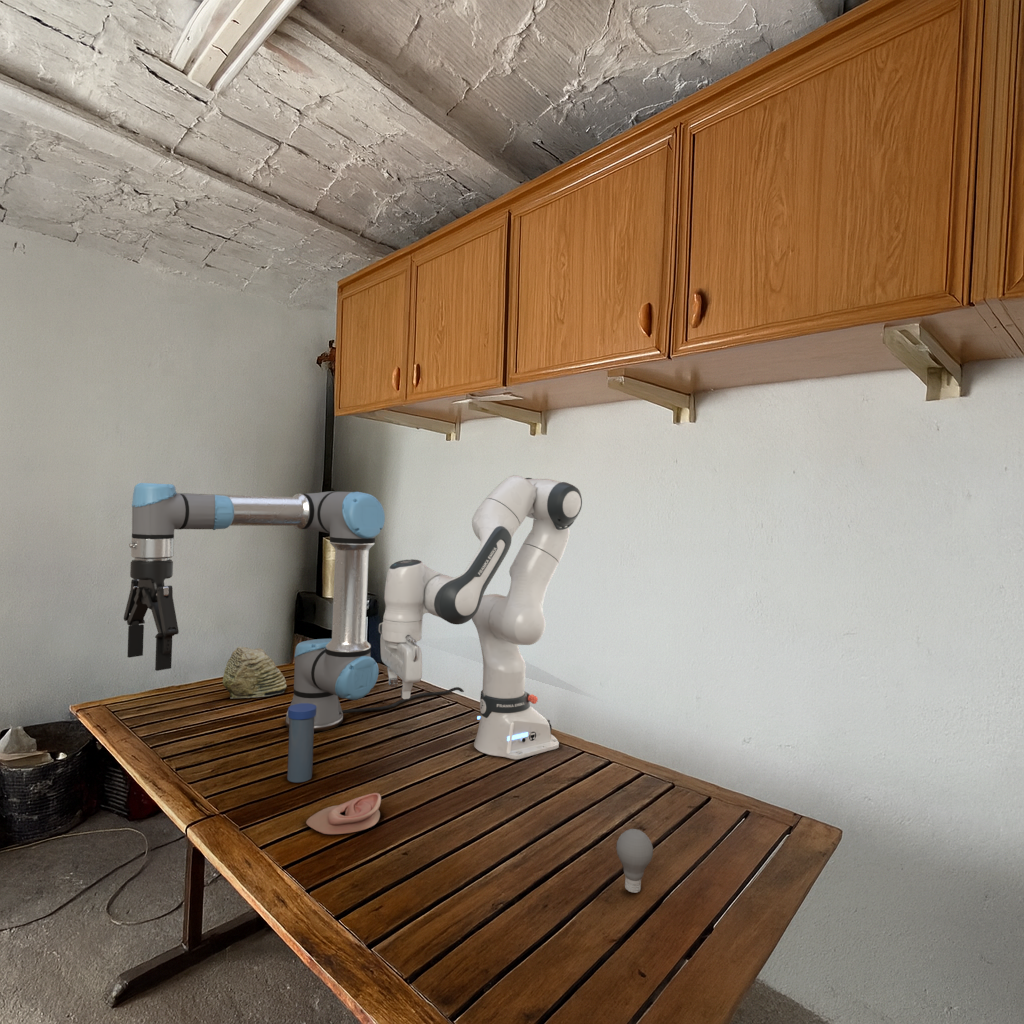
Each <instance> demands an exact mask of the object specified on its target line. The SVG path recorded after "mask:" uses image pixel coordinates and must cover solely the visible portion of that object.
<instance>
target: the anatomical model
mask: <svg viewBox="0 0 1024 1024" xmlns="http://www.w3.org/2000/svg"><path fill="white" fill-rule="evenodd" d="M381 803H382V796H381V794H380V793H379V792H373V793H368V794H364V795H362V796H358V797H356V798H353V799H351V800H348V801H346V802H343V803H340V804H338V805H332V806H328V807H325V808H323V809H321V810H319V811H317V812H315V813H313V814H312V815H311V816H310V817H308V818H307V819H306V821H305V824H306V825H307V826H308V827H309V828H311V829H312V830H314V831H316V832H319V833H321V834H323V835H343V834H351V833H356V832H362V831H365V830H367V829H369V828H370V829H371V828H372V827H374V826H375V825H376V824H377V823H379V821H380V818H381V812H380V810H379V809H380V807H381Z"/></svg>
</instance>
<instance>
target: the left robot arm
mask: <svg viewBox="0 0 1024 1024" xmlns="http://www.w3.org/2000/svg"><path fill="white" fill-rule="evenodd" d="M385 515H386V513H385V511H384V508H383V505H382V503H381V502H380V501H379V500H378V498H377V497H375V495H373V494H370V493H367V492H363V491H362V492H361V491H337V490H336V491H335V490H333V491H332V490H330V491H321V492H311V493H295V494H294V495H293V496H276V495H275V496H274V495H273V496H272V495H248V494H247V495H246V494H244V495H243V494H220V493H219V494H218V493H217V494H216V493H215V494H214V493H189V492H187V493H186V492H177V491H176V486H175V485H174V484H173V483H152V482H139V483H137V484H136V485H135V486H134V488H133V492H132V501H131V520H132V521H131V542H130V543H128V547H129V548H130V549H131V550H130V556H131V558H133V559H132V560H131V561H130V567H129V568H130V571H129V574H130V575H129V576H130V578H131V581H130V590H129V594H128V598H127V603H126V607H125V610H124V615H123V621H124V622H126V624H127V626H128V629H127V630H128V631H127V658H135V657H142V656H144V635H145V634H144V630H145V625H144V624H145V623H146V621H145V619H144V618H145V616H146V615H147V612H148V609H149V610H151V613H152V618H153V620H154V624H155V627H156V631H157V633H156V635H155V636H154V638H155V661H154V663H155V665H154V668H155V669H154V670H155V671H157V672H159V671H164V670H169V669H172V659H173V657H172V655H173V637H175V636H176V635H179V632H180V631H179V625H178V619H177V615H176V614H177V613H176V609H175V603H174V597H173V595H174V593H173V585H165V580H167V579H171V578H172V577H173V575H174V573H173V572H174V561H173V560H172V559H171V558H173V557H174V554H175V553H174V552H175V530H213V531H215V530H224V529H228V528H230V526H233V527H234V526H237V527H238V526H240V527H243V526H246V527H247V526H249V527H250V526H258V527H259V526H268V527H269V526H276V527H277V526H282V527H284V526H285V527H286V526H287V527H288V526H289V527H290V526H291V527H293V528H294V529H296V530H308V531H309V530H310V531H316V532H319V533H325V534H329V544H330V545H331V546H332V547H333V548H334V550H335V551H334V572H333V573H334V577H333V599H332V625H331V626H332V627H331V638H317V639H308V640H304V641H300V642H299V643H297V645H296V646H295V650H294V655H293V657H294V672H293V673H294V674H293V695H292V696H293V697H292V699H291V702H290V704H289V707H290V706H292V705H295V704H300V703H309V704H314V705H316V716H315V718H314V733H316V732H325V731H329V730H332V729H335V728H337V727H339V726H340V725H342V723H343V722H344V714H353V713H365V712H366V713H367V712H377V711H384V710H389V709H392V708H395V707H397V706H399V705H401V704H403V703H405V702H408V701H411V700H414V699H416V698H421V697H428V696H441V695H447V694H451V693H452V692H455V691H459V692H460V693H464V692H465V690H464V689H463V688H461V687H459V686H456V687H452V688H450V689H446V690H443V691H432V692H430V691H429V692H423V693H422V692H421V693H417V694H413V695H410V698H409V699H403V698H402V699H399V700H397V701H396V702H394V703H392V704H391V703H390V704H388V705H383V706H376V707H364V708H352V709H350V708H349V709H342V706H341V702H340V699H339V698H341V699H342V700H343V699H344V700H348V701H349V700H350V701H357V700H360V699H362V698H364V697H365V696H367V695H368V694H370V692H371V690H372V689H374V687H375V685H376V683H377V682H378V678H379V674H380V672H379V671H380V670H379V669H380V668H379V665H378V663H377V662H376V660H375V659H374V657H371V652H372V649H371V648H372V644H371V643H370V642H368V640H367V639H366V631H367V607H368V606H367V605H368V604H367V602H368V582H369V581H368V579H369V555H370V553H369V552H370V550H371V548H372V547H374V545H375V544H376V536H378V535H379V534H380V533H381V530H383V528H384V526H385V522H386V521H385V520H386V516H385ZM285 726H286V728H287V729H289V717H288V710H287V711H286V715H285Z"/></svg>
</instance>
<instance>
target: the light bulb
mask: <svg viewBox="0 0 1024 1024" xmlns="http://www.w3.org/2000/svg"><path fill="white" fill-rule="evenodd" d="M615 849H616V854H617V857H618V859H619V861H620V863H621V865H622V867H623V873H624V874H623V875H624V876H625V878H624V888H625V890H627V891H628V892H630V893H634V894H635V893H639V892H640V891H641V889H642V887H641V886H642V879H643V877H644V875H645V871H646V868H647V867H648V866H649V864H650V863H651V861H652V859H653V855H654V847H653V843H652V841H651V838H649V836H648V835H647V834H646V833H645V832H643V831H642V830H641V829H636V828H629V829H627V830H625V831H623V832H622V833H621V834H620V835H619V837H618V839H617V841H616V847H615Z"/></svg>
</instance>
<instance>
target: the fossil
mask: <svg viewBox="0 0 1024 1024" xmlns="http://www.w3.org/2000/svg"><path fill="white" fill-rule="evenodd" d="M222 676H223V677H222V685H223V687H224V688H225V690H226V691H228V693H229V698H230V699H250V698H264V697H271V696H275V695H281V694H284V693H285V691H286V689H287V687H288V686H287V680H286V678H285V676H284V674H283V673H282V672H281V669H279V668H278V667H277V665H276V663H275V662H274V660H273V659H272V658H271V657H270V656H269V655H268V654H267V653H266V652H265V650H264V649H263V648H260V647H258V648H251V647H247V646H246V647H245V646H238V647H237V648H236V649H235V650H233V651H232V653H231V656H230V657H229V659H228V660H227V663H226V666H225V668H224V671H223V675H222Z"/></svg>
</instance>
